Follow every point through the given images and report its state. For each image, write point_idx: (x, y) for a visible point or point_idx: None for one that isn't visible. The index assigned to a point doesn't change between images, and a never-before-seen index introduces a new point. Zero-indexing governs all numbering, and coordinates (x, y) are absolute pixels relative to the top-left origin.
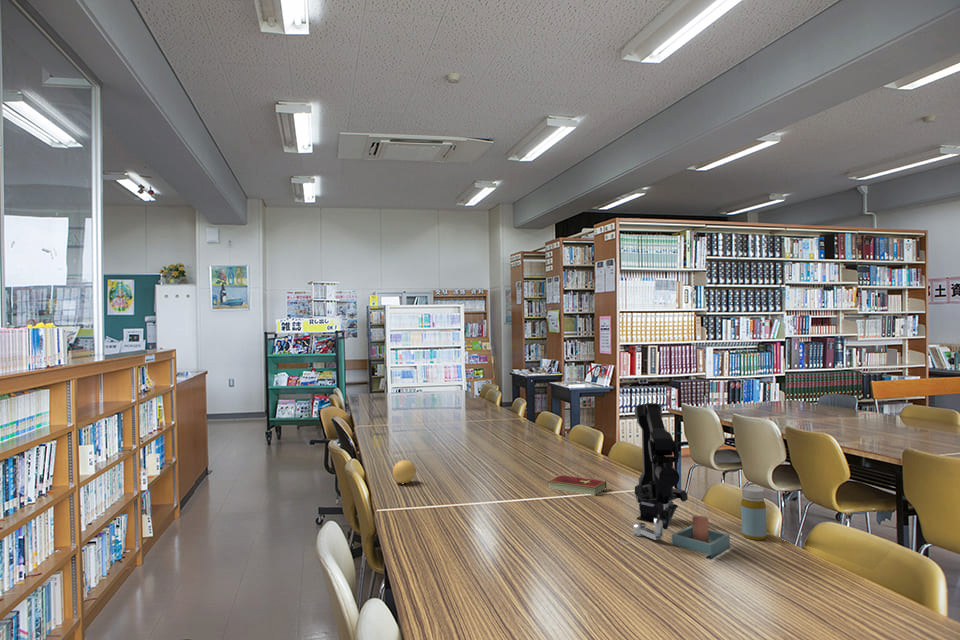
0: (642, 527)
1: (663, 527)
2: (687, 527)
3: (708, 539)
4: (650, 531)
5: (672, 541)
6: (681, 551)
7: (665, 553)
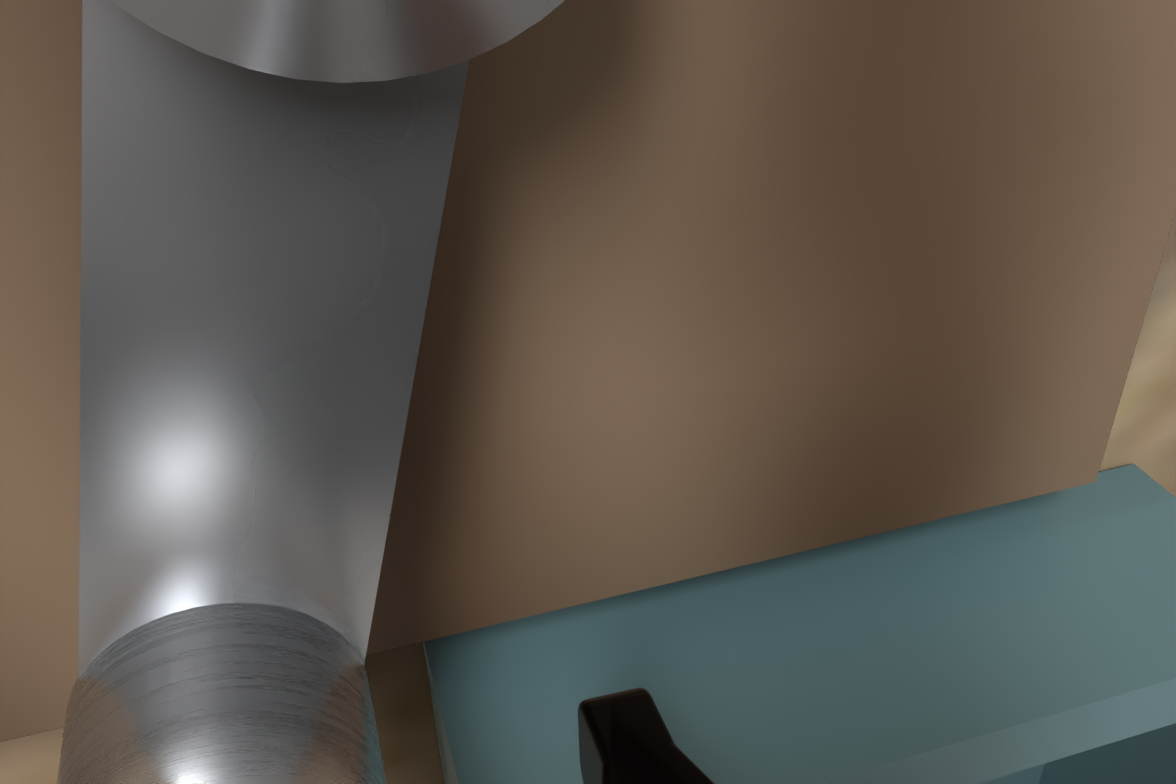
0: (180, 34)
1: (585, 742)
2: (1173, 683)
3: (1058, 773)
4: (227, 418)
5: (450, 745)
6: (417, 780)
7: (41, 755)
